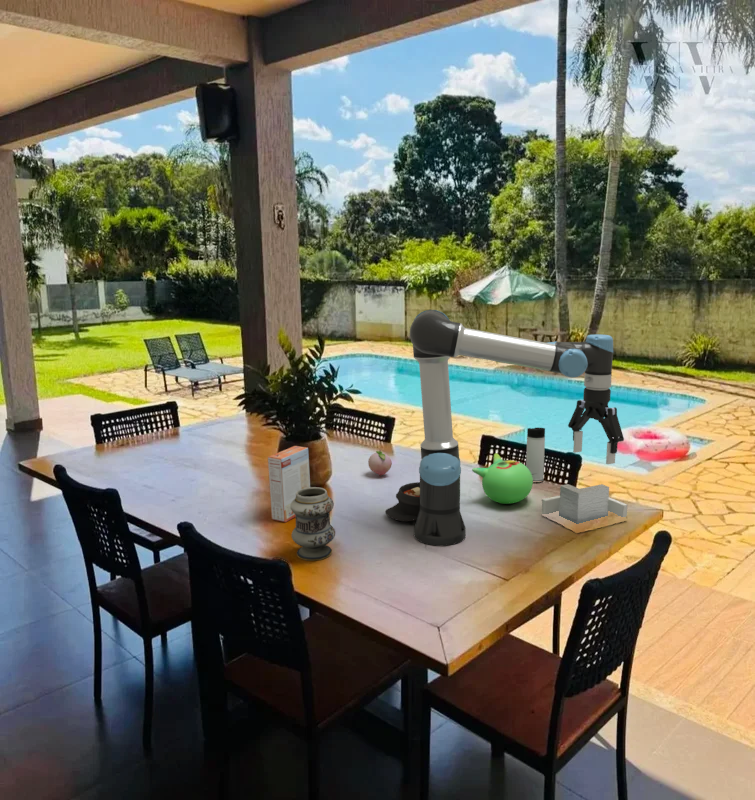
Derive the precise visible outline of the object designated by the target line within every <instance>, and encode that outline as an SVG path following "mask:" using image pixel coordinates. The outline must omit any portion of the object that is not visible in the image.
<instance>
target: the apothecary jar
mask: <svg viewBox="0 0 755 800" xmlns="http://www.w3.org/2000/svg"><path fill="white" fill-rule="evenodd" d="M334 506H335V503H334V500H333V499H332V498H331V497H330V496H329V495H328V491H327V490H326V489H325V488H323V487H316V486H310V488H304V489H301V490H298V491H297V492H296V498H295V499H294V500H293V501H292V503H291V506H290V507H291V510H292V512H293V513H294V514H295V517H294V518H295V527H294V529H293V530H292V532H291V539H292V541H293V542H294V543H295V544H297V545H298V546H300V547H299V548H298V549H297V551H296V557H298V558H299V559H301V560H304V561H308V562H310V561H321V560H324V559H327V558H329V557H330V556H331V555H332V554H333V549H332V548H331V547H330V546H328V544H330V543H331V542H332V541H333V540H334V539H335V537H336V529H335V528H334V526H333V525H332V524H331V518H330V517H331V516H330V512H332V510H333V509H334Z"/></svg>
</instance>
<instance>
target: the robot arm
mask: <svg viewBox="0 0 755 800" xmlns="http://www.w3.org/2000/svg"><path fill="white" fill-rule="evenodd" d="M409 338H410V342H411V344H412V352H413V354H412V355H413V358H414V359H415V360H416V361H417V362H418V364H419V365H418V366H419V379H420V391H421V407H422V418H423V432H424V440H423V441H422V442H421V443H420V445H419V446H420V459H421V460H420V463H419V467H418V473H419V482H420V511H419V514H418V517H417V520H416V521H415V524H414V527H413V536H414V539H416V540H417V541H419V542H420V543H422V544H423V543H424V544H426V545H431V546H440V545H443V546H451V545H450V544H452V545H455V544H454V543H456V544H459V543H461V542H462V540H463V539H464V538H465V539H466V537H467V536H466V534H467V531H466V530H467V529H466V525H465V522H464V518H463V515H462V513H461V474H462V467H461V459H460V449H459V442H458V440H457V439H455V438H454V434H453V419H452V418H453V417H452V405H451V403H452V401H451V390H450V373H449V360H450V358H457V356H465V357H469V358H475V359H482V360H487V361H492V362H497V363H503V364H509V365H515V366H519V367H520V366H521V367H525V368H531V369H535V370H542V371H546V372H547V371H548V372H551V373H555V374H561V375H563V376H565V377H569V378H578V377H580V376H582V375H583V374H584V389H583V395H582V396H583V398H582V399H579V400H576V404H575V406H576V407H575V409H574V411H573V413H572V416H571V417H570V420H569V422H568V425H567V426H568V428H571V430H572V441H573V451H572V452H573V453H574V454H576V453H581V452H582V451H583V437H584V436H583V435H584V434H583V431H582V430H583V428H584V426H585V425H586V424H587V422H588V421H589V420H590V419H594V420H595V421H598V423H599V424H601V427H602V428H603V431H604V433H605V434H606V437H607V439H608V441H607V442H606V457H605V464H606V465H612V464H615V463H616V454H617V452H618V443H621V442H624V441H625V438H624V434H623V431H622V428H621V425H620V421H619V418H618V410H617V407H609V402H610V401H611V393H612V390H611V389H610V388H611V387H612V372H613V369H612V368H613V357H614V352H615V351H614V339H613V336H611V335H608V334H600V333H599V334H588V335H587V336H586V339H585V341H557V340H555V341H548V342H543V341H538V340H534V339H533V340H532V339H527V338H521V337H516V336H510V335H506V334H500V333H496V332H491V331H490V332H489V331H483V330H479V329H473V328H469V327H465V326H464V325H463V323H462V322H456V321H452V320H450V318H449V317H448V316H447V315H446V314H445V313H444V312H442V311H439V310H437V309H427V310H424V311H421V312H420V313H418V314H417V315H416V316H415V318H414V319H413V322H412V323H411V325H410V327H409ZM465 536H466V537H465ZM465 539H464V540H465ZM464 540H463V541H464ZM460 541H461V542H460ZM458 542H459V543H458Z"/></svg>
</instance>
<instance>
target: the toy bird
mask: <svg viewBox="0 0 755 800" xmlns="http://www.w3.org/2000/svg"><path fill="white" fill-rule="evenodd" d="M471 471H472V473H475V474H476V475H478V476H479V477H481V486H482V489H483V491H484V494H485V495H486V497H488V498H489V499H490V500H492V501H493V502H495V503H499V504H504V505H505V504H506V505H511V504H515V503H519V502H521V501H522V500H524V499H526V498H527V497H528V495H529V494H530V493H531V491H532V489H533V484H534V483H533V478H532V474H531V472H530V470H529V469H528V468H527V467H526V465H525V464H523V463H522V462H521V461H517V460H512V459H510V460H509V459H503V458H502V457H501V456H500V455H499V453H494V454H493V463H492V464H491V465H489V466H488V467H472V469H471Z"/></svg>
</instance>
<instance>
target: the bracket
mask: <svg viewBox="0 0 755 800" xmlns="http://www.w3.org/2000/svg"><path fill="white" fill-rule="evenodd" d="M559 487H560V489H559V496H560V507H559V516H561V517H563V518H565V519H567V520H570V521H572V522H574V523H576V524H579V523H583V522H586V521H590V520H594V519H598V518H601V517H605V516H608V500H609V497H610V486H607V485H605V484H603V483H601V484H597V485H591V486H587V487H583V488H578V487H577V486H574V485H571V484H568V483H567V484H561V485H560V486H559Z"/></svg>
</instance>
